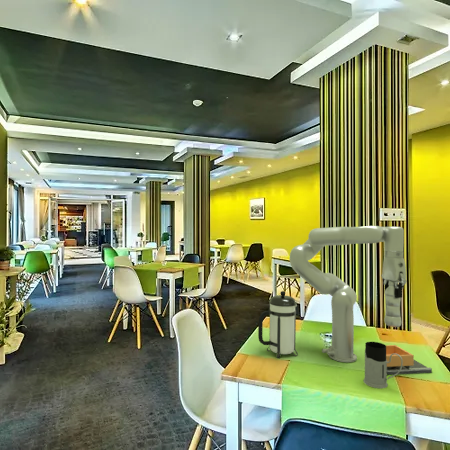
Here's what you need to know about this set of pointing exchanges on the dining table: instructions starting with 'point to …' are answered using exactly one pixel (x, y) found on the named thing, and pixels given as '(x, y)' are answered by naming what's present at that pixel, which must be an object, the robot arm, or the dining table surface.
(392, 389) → the dining table surface
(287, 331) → the coffee press
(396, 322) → the plastic bottle
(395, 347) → the orange open tray
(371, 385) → the grey mug
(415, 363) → the grey flat slab
